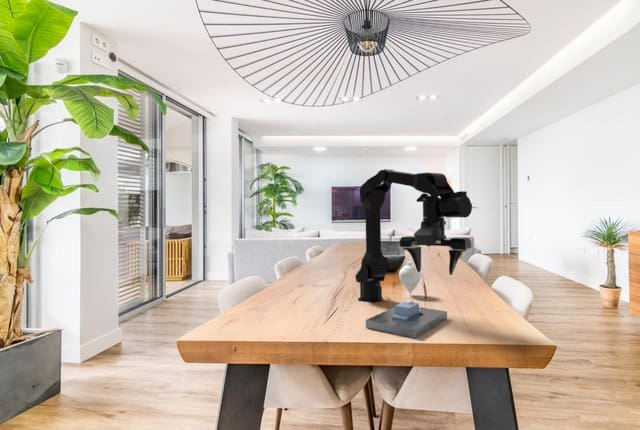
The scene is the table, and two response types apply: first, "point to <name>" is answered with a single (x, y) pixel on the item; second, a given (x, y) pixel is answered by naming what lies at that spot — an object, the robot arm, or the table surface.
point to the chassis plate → (407, 322)
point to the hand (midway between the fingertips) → (434, 273)
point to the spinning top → (409, 276)
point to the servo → (407, 311)
